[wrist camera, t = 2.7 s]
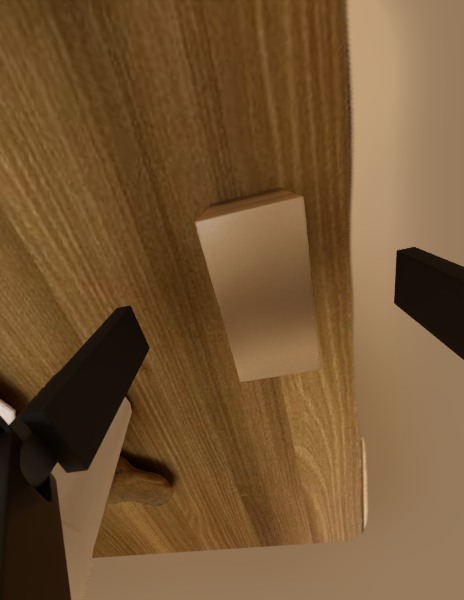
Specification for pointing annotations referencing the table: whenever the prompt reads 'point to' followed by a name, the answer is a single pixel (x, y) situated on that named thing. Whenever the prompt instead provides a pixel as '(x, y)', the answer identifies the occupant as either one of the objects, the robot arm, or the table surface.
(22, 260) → the table surface
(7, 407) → the plate
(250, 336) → the block
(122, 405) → the cup
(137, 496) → the ginger root
